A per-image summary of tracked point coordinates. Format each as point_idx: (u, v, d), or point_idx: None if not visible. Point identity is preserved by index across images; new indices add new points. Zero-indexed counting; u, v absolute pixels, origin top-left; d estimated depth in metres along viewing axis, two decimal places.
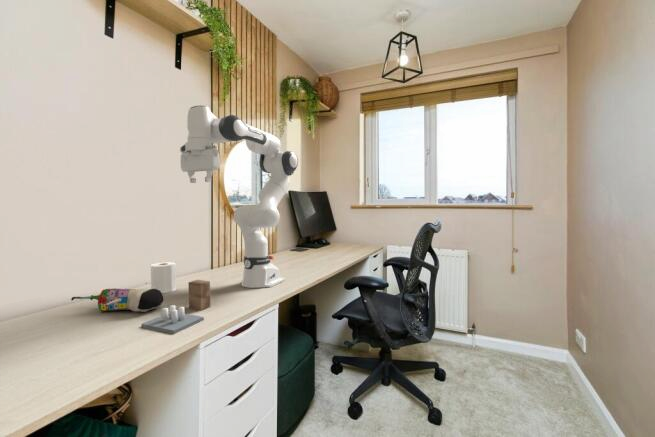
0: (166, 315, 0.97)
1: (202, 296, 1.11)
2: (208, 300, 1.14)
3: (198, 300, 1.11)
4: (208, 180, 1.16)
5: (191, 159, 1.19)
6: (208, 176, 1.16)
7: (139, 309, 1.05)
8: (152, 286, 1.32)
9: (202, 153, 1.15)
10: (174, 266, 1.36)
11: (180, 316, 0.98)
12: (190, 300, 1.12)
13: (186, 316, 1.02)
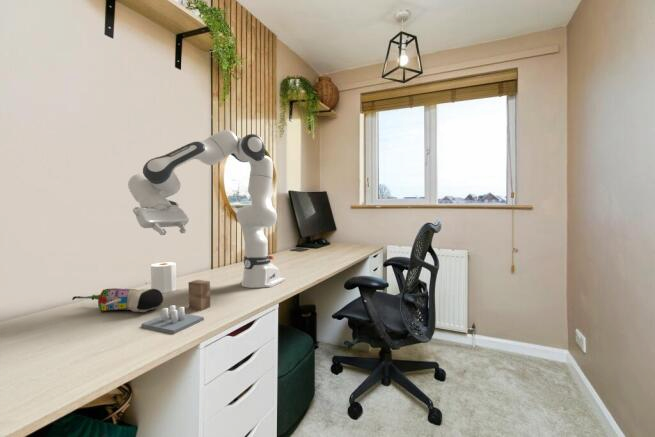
0: (166, 315, 0.97)
1: (202, 296, 1.11)
2: (208, 300, 1.14)
3: (198, 300, 1.11)
4: (161, 233, 1.12)
5: None
6: (158, 230, 1.12)
7: (138, 309, 1.05)
8: (152, 286, 1.32)
9: None
10: (174, 266, 1.36)
11: (180, 316, 0.98)
12: (190, 300, 1.12)
13: (186, 316, 1.02)
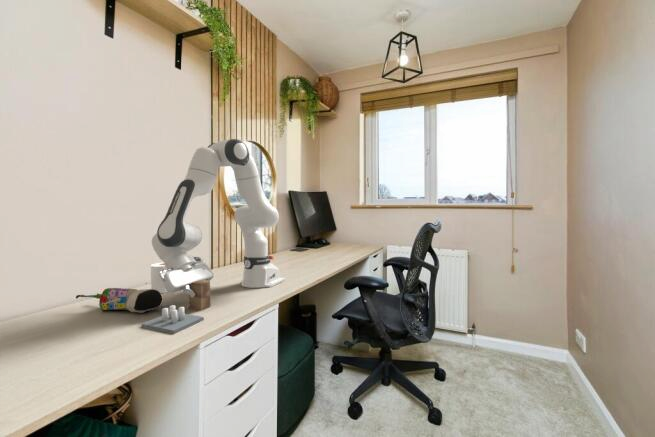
0: (166, 315, 0.97)
1: (202, 296, 1.11)
2: (208, 300, 1.14)
3: (198, 300, 1.11)
4: (191, 296, 1.10)
5: None
6: (188, 293, 1.10)
7: (135, 310, 1.04)
8: (152, 286, 1.32)
9: None
10: None
11: (180, 316, 0.98)
12: (190, 300, 1.12)
13: (186, 316, 1.02)
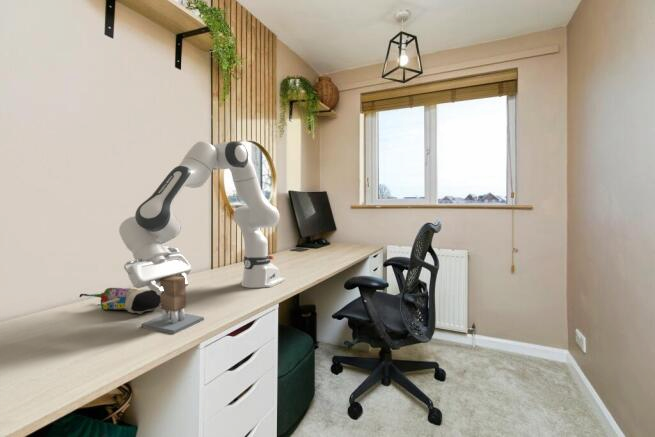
0: (166, 315, 0.97)
1: (176, 295, 0.96)
2: (183, 299, 0.99)
3: (171, 299, 0.96)
4: (158, 293, 0.93)
5: None
6: (154, 289, 0.93)
7: (133, 310, 1.04)
8: None
9: None
10: None
11: (180, 316, 0.98)
12: (162, 299, 0.97)
13: (186, 316, 1.02)
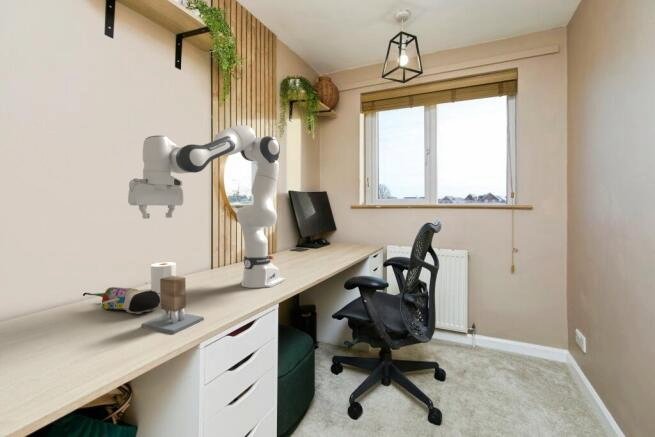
0: (166, 315, 0.97)
1: (176, 295, 0.96)
2: (183, 299, 0.99)
3: (171, 299, 0.96)
4: (143, 217, 1.05)
5: None
6: (142, 212, 1.05)
7: (130, 311, 1.03)
8: (152, 286, 1.32)
9: None
10: (174, 266, 1.36)
11: (180, 316, 0.98)
12: (162, 299, 0.97)
13: (186, 316, 1.02)
